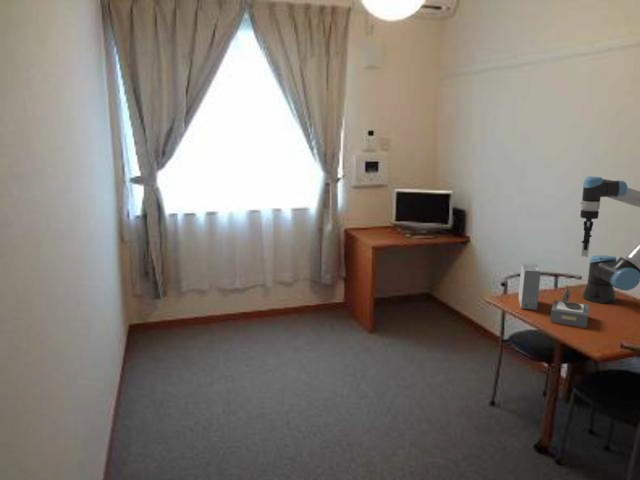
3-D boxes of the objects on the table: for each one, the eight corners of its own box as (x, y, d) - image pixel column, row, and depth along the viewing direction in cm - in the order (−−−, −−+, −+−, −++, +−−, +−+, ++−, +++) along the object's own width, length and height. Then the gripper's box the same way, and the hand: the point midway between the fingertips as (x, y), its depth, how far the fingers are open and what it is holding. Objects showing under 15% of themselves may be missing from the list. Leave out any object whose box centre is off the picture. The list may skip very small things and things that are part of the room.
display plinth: (587, 316, 240) (588, 304, 238) (586, 328, 227) (587, 314, 225) (552, 311, 247) (554, 299, 246) (550, 322, 234) (551, 309, 233)
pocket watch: (582, 310, 231) (584, 289, 229) (562, 308, 233) (564, 288, 231) (578, 304, 239) (580, 283, 237) (558, 302, 241) (560, 282, 238)
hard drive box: (537, 310, 249) (540, 271, 244) (520, 309, 251) (524, 270, 246) (533, 300, 263) (536, 263, 259) (517, 298, 265) (520, 262, 261)
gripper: (582, 205, 251) (577, 246, 256) (579, 213, 229) (575, 258, 234) (599, 206, 247) (594, 248, 252) (598, 214, 226) (593, 260, 231)
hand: (585, 253), depth 243 cm, fingers open, 13 cm apart
